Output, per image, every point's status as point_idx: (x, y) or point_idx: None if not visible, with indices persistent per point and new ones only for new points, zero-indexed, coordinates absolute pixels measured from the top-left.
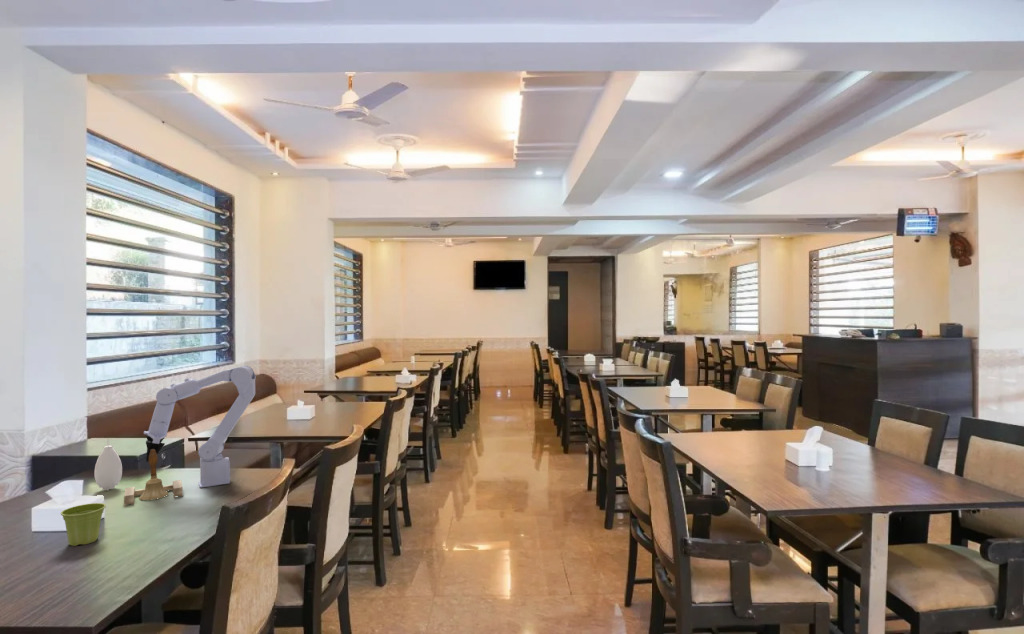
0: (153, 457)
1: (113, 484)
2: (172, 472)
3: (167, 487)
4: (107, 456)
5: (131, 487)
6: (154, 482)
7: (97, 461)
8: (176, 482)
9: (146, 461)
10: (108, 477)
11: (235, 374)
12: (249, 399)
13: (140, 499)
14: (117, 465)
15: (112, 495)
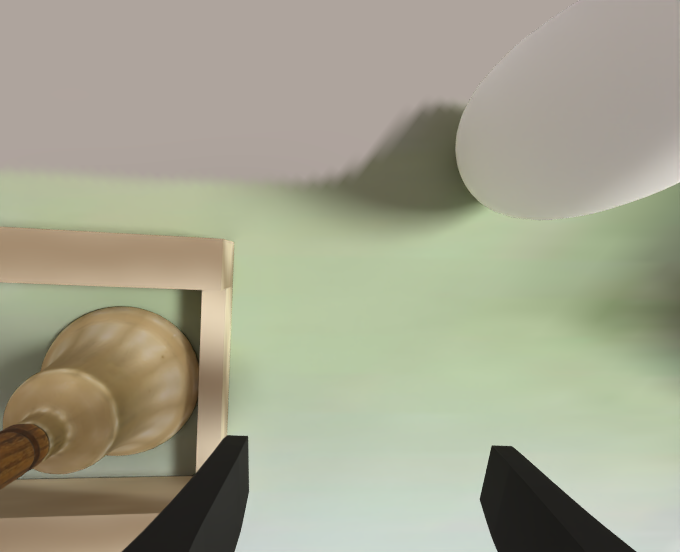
0: None
1: (462, 179)
2: (666, 473)
3: (198, 461)
4: (639, 28)
5: (213, 272)
6: (4, 427)
7: None
8: None
9: (228, 436)
10: (466, 132)
11: None
12: None
13: (89, 313)
14: (540, 172)
15: (332, 179)
